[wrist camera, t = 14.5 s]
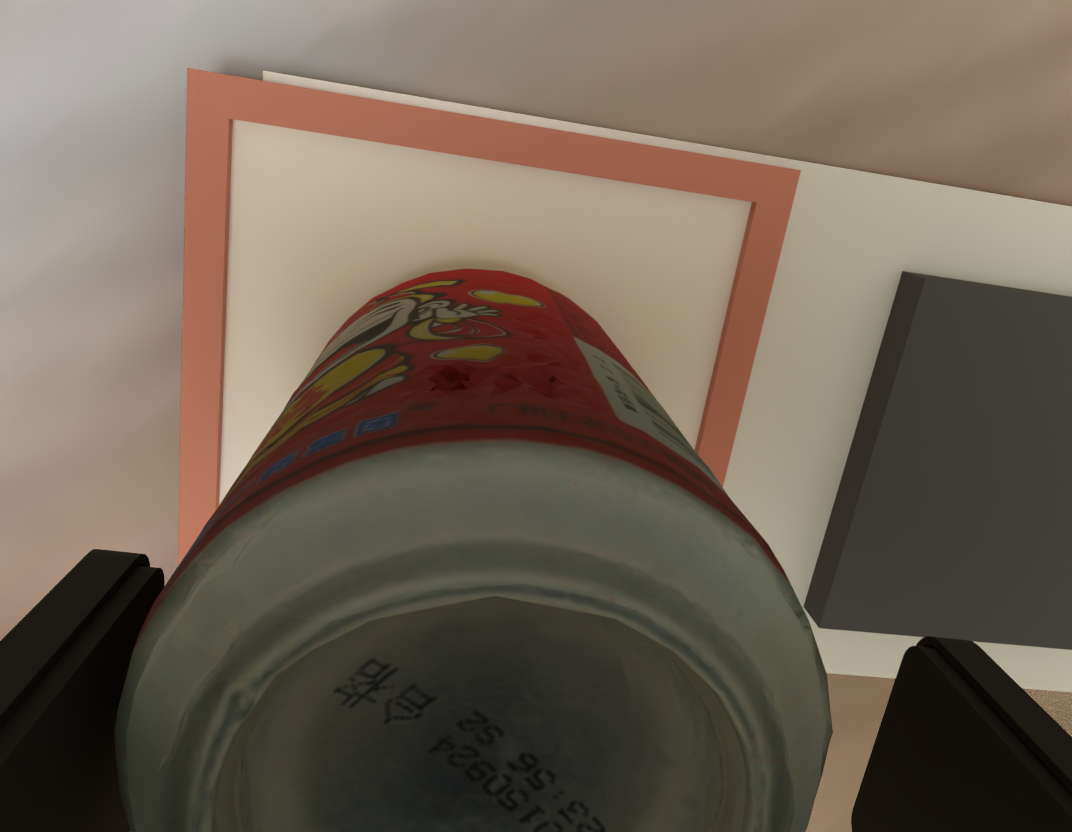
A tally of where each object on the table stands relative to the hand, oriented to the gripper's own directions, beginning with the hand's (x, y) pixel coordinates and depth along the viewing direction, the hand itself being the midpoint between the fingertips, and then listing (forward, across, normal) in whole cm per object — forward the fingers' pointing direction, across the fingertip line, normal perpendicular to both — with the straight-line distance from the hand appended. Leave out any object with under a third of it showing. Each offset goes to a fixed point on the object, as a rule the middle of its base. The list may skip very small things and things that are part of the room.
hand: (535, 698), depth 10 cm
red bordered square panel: (+10, +1, -1) cm, 10 cm away
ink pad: (+10, -13, -1) cm, 16 cm away
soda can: (+10, +1, -1) cm, 10 cm away
